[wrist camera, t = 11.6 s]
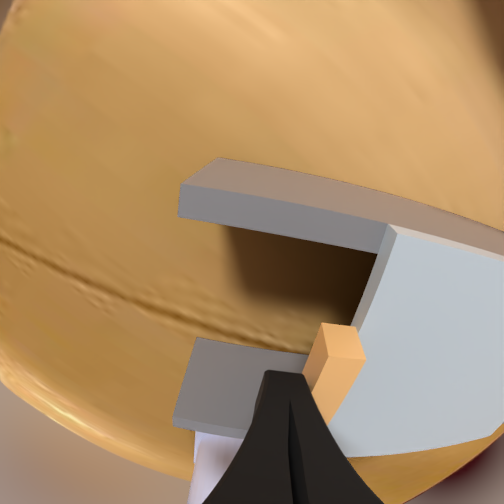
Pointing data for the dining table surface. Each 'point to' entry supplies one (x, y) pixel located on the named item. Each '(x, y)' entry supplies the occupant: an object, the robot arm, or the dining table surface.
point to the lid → (415, 350)
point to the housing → (298, 226)
